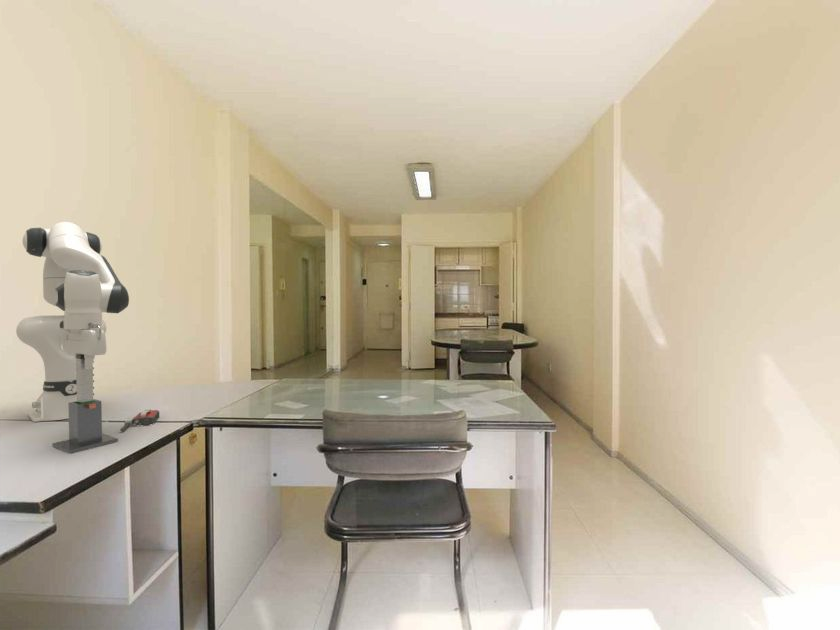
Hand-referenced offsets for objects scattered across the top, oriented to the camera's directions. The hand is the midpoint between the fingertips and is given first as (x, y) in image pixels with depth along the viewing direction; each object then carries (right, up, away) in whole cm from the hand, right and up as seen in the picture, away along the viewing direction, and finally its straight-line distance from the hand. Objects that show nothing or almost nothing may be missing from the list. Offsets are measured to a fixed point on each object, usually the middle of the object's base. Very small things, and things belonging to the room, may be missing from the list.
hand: (84, 368), depth 122 cm
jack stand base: (0, -23, 0) cm, 23 cm away
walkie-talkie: (+2, -24, +22) cm, 32 cm away
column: (0, -16, 0) cm, 16 cm away
